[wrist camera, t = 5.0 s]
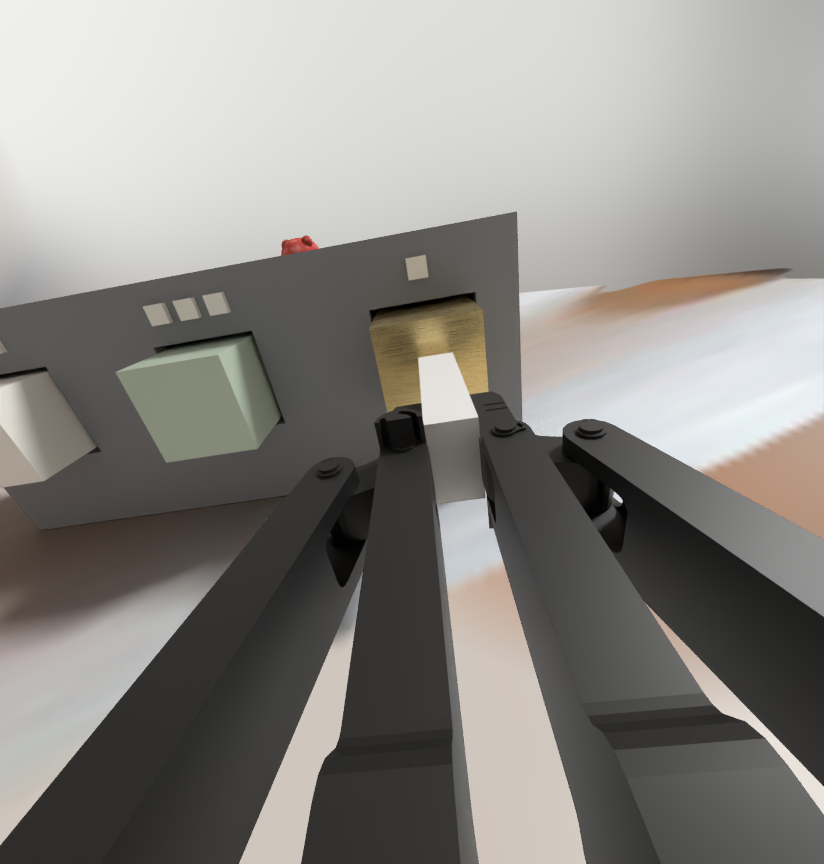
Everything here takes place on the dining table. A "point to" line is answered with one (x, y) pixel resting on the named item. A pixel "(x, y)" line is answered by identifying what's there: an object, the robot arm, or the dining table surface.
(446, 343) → the brass button
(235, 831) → the robot arm
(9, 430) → the white button
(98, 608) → the dining table surface
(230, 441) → the sage button
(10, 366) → the button console
